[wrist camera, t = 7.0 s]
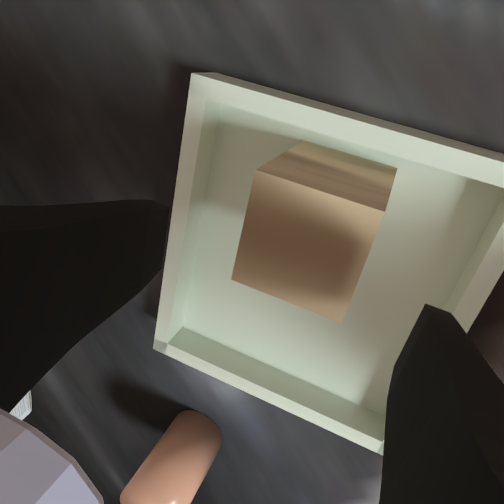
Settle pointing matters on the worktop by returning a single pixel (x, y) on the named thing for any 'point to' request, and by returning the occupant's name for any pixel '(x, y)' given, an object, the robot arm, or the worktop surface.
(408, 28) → the worktop surface
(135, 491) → the terracotta cylinder
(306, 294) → the beech block
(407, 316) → the tray
